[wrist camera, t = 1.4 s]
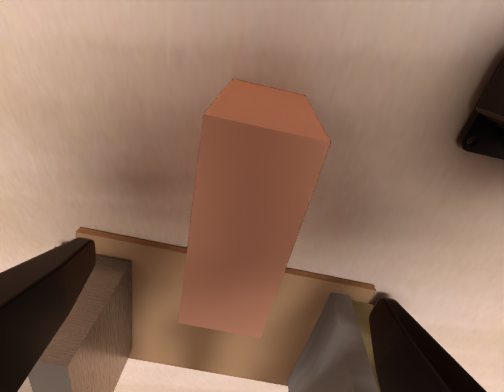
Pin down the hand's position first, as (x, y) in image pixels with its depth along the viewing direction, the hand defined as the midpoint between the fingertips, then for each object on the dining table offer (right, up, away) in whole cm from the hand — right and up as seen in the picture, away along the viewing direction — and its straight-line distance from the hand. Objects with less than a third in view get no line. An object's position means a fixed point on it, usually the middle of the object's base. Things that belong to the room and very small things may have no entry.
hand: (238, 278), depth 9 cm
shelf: (-2, -7, +14) cm, 15 cm away
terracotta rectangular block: (0, +4, +7) cm, 8 cm away
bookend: (-11, -5, +13) cm, 18 cm away
